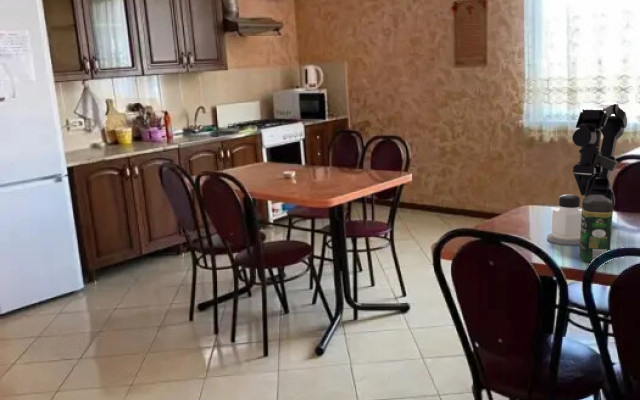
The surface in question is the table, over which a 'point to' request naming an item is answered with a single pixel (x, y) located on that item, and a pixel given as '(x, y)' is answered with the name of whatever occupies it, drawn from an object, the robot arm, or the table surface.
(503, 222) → the table surface
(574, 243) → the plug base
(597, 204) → the coffee jar
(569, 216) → the medicine bottle
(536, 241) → the table surface
